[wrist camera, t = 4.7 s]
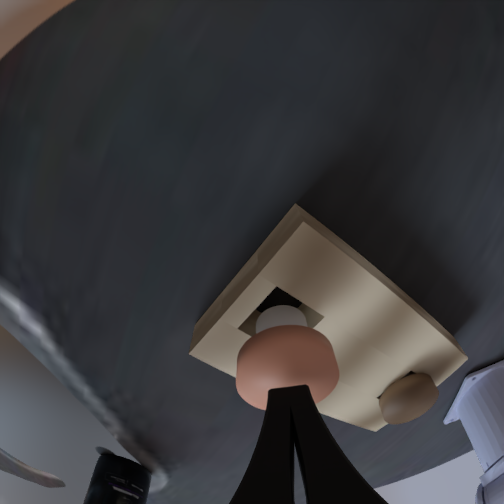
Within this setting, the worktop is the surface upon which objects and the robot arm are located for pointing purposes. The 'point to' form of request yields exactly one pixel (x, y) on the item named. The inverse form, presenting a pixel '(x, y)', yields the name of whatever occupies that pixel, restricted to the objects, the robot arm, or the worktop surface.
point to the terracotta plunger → (285, 357)
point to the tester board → (331, 317)
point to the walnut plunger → (408, 398)
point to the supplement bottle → (118, 482)
